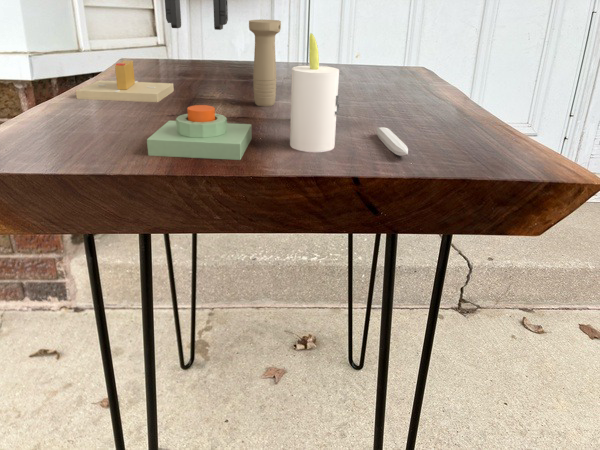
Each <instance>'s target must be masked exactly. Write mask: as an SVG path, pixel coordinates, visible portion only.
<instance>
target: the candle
mask: <svg viewBox="0 0 600 450" xmlns="http://www.w3.org/2000/svg"><path fill="white" fill-rule="evenodd" d="M308 42H309V43H308V46H309V47H308V48H309V49H308V51H309V52H308V53H309V55H308V57H309V58H308V59H309V60H308V61H309V63H308V64H309V65H298V66H297V65H296V66H293V67H292V68H291V88H290V89H291V90H290V91H291V92H290V125H289V126H290V129H289V146H290V148H292V149H294V150H296V151H300V152H304V153H305V152H306V153H323V152H330V151H332V150H334V148H335V147H336V146H335V143H336V128H337V115H338V114H339V112H340V102H339V98H340V97H341V94H340V93H339V81H340V69H339V68H337V67H333V66H326V65H325V66H324V65H320V55H319V47H318V43H317V40H316V37H315V35H314V34H313V33H312V32H310V34H309V38H308Z"/></svg>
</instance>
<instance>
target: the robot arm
mask: <svg viewBox="0 0 600 450" xmlns="http://www.w3.org/2000/svg"><path fill="white" fill-rule="evenodd" d="M212 2H213V3H212V4H213V28H214V31H215V30H216V31H221V30H223V29H224V26H225V25H227V23H228V21H229V10H228V9H229V8H228V6H229V5H228V0H212ZM164 9H165V10H164V11H165V12H164V13H165V20H166V23H168V24H170V27H171V28H172V29H180V28H182V12H181V0H164Z"/></svg>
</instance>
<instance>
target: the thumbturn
mask: <svg viewBox="0 0 600 450" xmlns="http://www.w3.org/2000/svg"><path fill="white" fill-rule="evenodd" d="M114 70H115V79H116V81H117V88H118V90H127V89H128V88H130V87H131V86H132V85H134V84H135V81H136V78H135V68H134V61H133V60H122V61H121V62H116V63H115V65H114Z"/></svg>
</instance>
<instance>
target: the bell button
mask: <svg viewBox="0 0 600 450" xmlns="http://www.w3.org/2000/svg"><path fill="white" fill-rule="evenodd" d="M186 109H187V110H186V111H187V114H188V121H192V122H210V121H214V120H215V114H216V108H215V107H214V106H212V105H209V104H208V105H207V104H195V105H190V106H188V107H187V108H186Z"/></svg>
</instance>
